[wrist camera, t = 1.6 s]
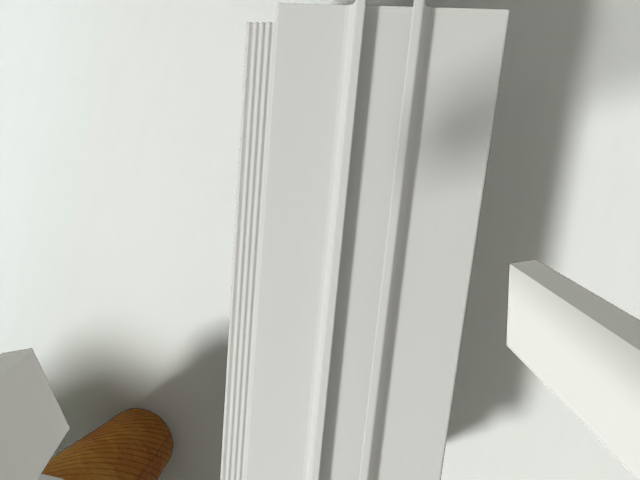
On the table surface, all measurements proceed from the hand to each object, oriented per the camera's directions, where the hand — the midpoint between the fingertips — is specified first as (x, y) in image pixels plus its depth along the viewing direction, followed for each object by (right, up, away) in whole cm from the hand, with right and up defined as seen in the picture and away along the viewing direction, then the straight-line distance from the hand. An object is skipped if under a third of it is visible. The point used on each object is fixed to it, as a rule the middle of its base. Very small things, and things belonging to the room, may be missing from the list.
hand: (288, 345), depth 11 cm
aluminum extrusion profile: (+3, +1, +20) cm, 20 cm away
